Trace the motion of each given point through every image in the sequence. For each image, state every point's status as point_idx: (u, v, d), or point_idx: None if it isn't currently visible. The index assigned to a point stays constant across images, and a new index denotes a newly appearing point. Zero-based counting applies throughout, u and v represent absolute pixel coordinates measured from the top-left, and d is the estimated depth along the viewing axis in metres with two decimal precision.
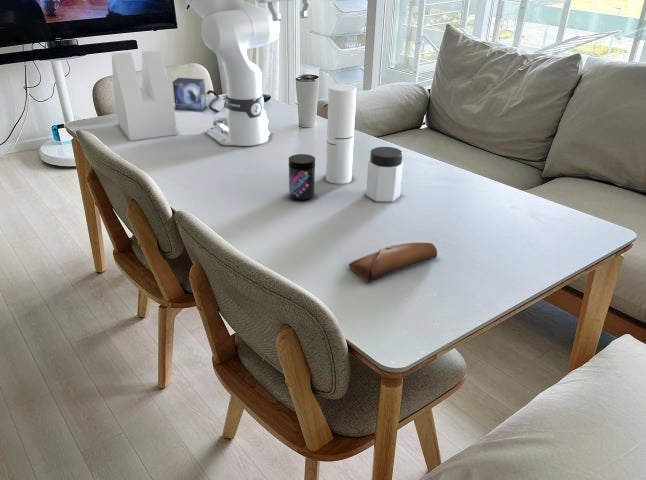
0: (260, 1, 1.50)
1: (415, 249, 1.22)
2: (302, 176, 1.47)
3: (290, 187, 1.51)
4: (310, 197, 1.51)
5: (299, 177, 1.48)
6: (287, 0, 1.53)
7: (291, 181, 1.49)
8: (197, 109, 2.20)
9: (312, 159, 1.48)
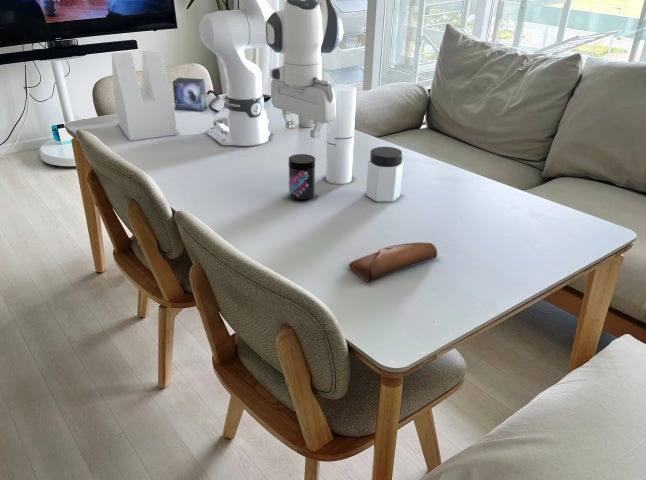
0: None
1: (415, 249, 1.22)
2: (302, 176, 1.47)
3: (290, 187, 1.51)
4: (310, 197, 1.51)
5: (299, 177, 1.48)
6: None
7: (291, 181, 1.49)
8: (197, 109, 2.20)
9: (312, 159, 1.48)
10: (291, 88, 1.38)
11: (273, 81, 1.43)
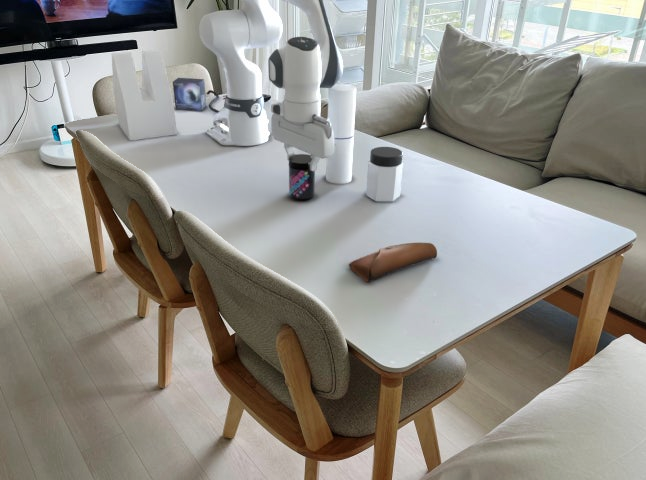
0: None
1: (415, 249, 1.22)
2: (302, 176, 1.47)
3: (290, 187, 1.51)
4: (310, 197, 1.51)
5: (300, 177, 1.48)
6: (291, 146, 1.47)
7: (291, 181, 1.49)
8: (197, 109, 2.20)
9: None
10: (291, 124, 1.42)
11: (274, 115, 1.47)
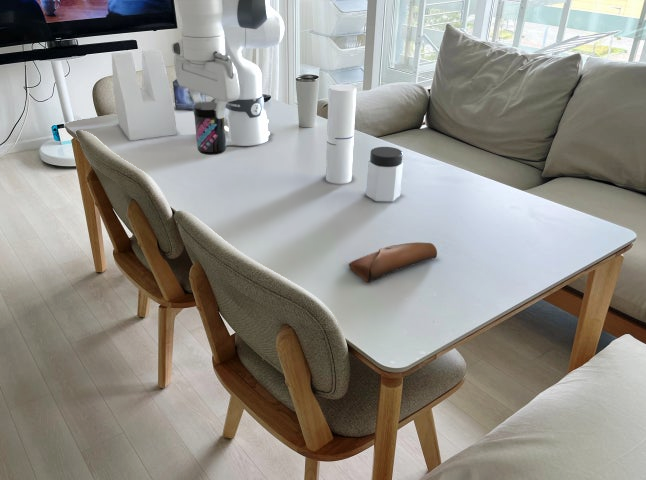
0: None
1: (415, 249, 1.22)
2: (209, 125, 1.31)
3: (197, 139, 1.34)
4: (220, 150, 1.35)
5: (205, 126, 1.31)
6: (196, 91, 1.30)
7: (197, 131, 1.33)
8: None
9: None
10: (191, 63, 1.25)
11: (175, 57, 1.30)
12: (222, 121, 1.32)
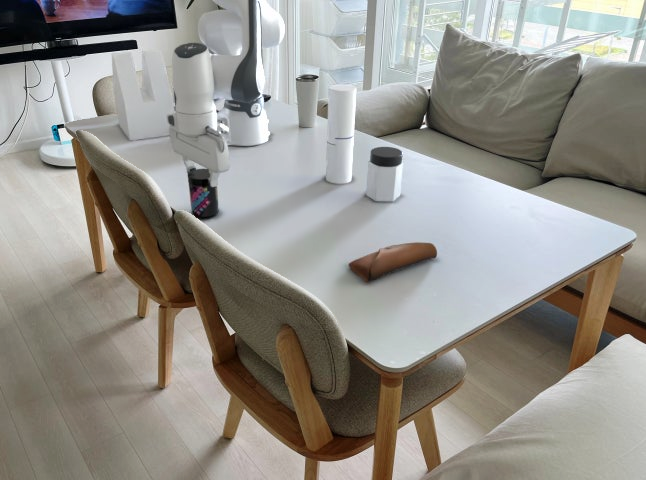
0: None
1: (415, 249, 1.22)
2: (202, 193, 1.38)
3: (191, 204, 1.41)
4: (213, 214, 1.42)
5: (199, 194, 1.38)
6: (189, 159, 1.38)
7: (191, 197, 1.40)
8: None
9: None
10: (185, 136, 1.32)
11: (170, 126, 1.37)
12: (215, 188, 1.39)
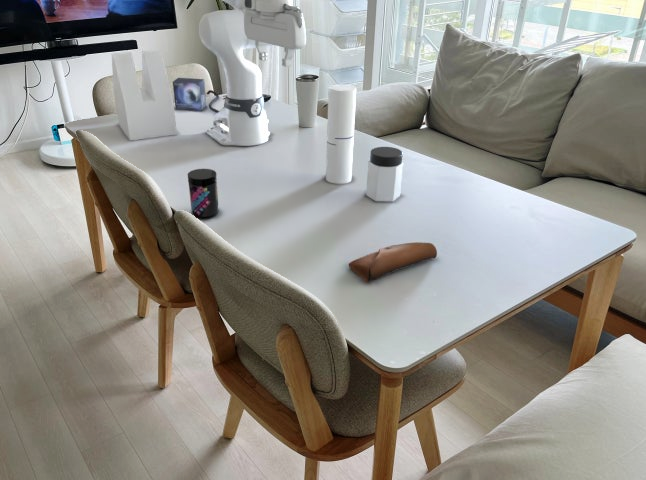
0: None
1: (415, 249, 1.22)
2: (202, 193, 1.38)
3: (191, 204, 1.41)
4: (213, 214, 1.42)
5: (199, 194, 1.38)
6: (264, 42, 1.45)
7: (191, 197, 1.40)
8: (197, 109, 2.20)
9: (213, 174, 1.39)
10: (262, 15, 1.40)
11: (246, 11, 1.45)
12: (215, 188, 1.39)
